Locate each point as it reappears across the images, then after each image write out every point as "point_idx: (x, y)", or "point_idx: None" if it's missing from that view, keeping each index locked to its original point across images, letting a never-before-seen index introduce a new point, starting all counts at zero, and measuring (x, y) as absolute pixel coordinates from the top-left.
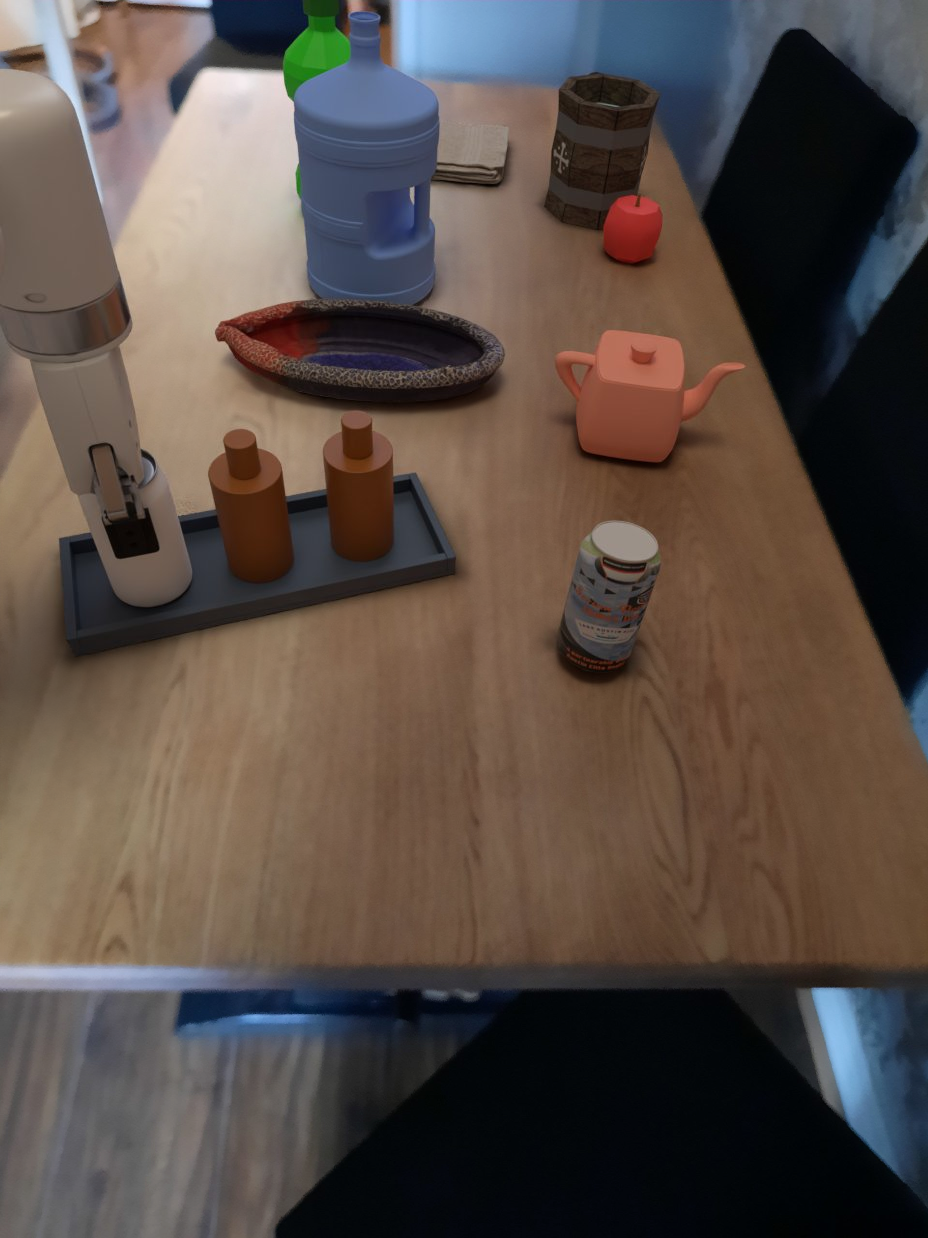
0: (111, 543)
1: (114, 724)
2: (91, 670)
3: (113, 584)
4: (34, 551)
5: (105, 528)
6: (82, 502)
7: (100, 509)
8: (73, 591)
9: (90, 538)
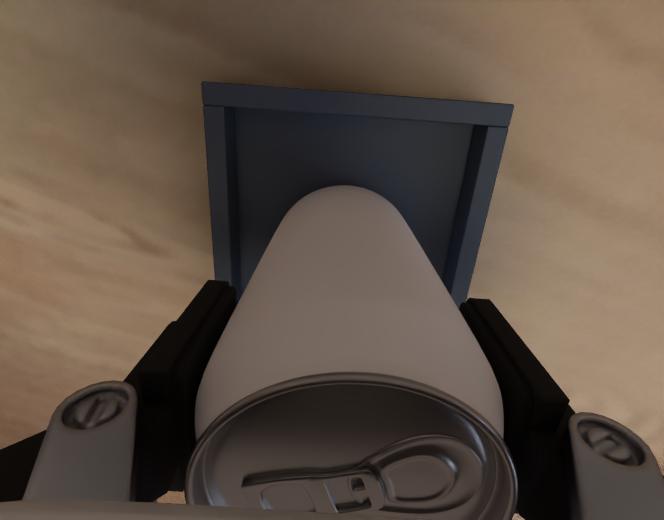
0: (187, 309)
1: (59, 132)
2: (181, 111)
3: (310, 199)
4: (539, 37)
5: (160, 345)
6: (292, 312)
7: (40, 455)
8: (337, 114)
9: (478, 171)
